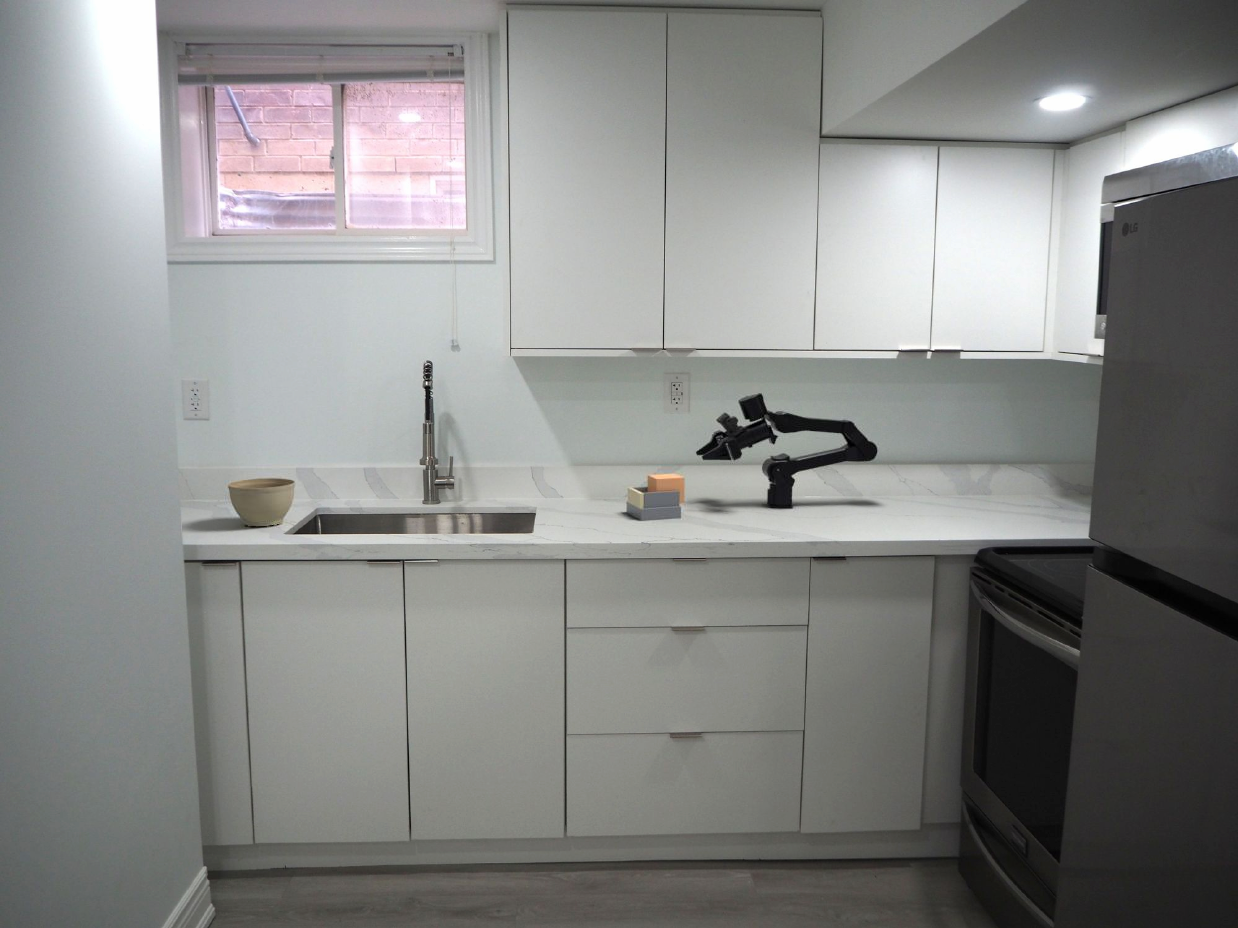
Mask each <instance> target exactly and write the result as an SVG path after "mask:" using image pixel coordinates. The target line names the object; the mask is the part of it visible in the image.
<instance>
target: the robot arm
mask: <svg viewBox="0 0 1238 928" xmlns="http://www.w3.org/2000/svg"><path fill="white" fill-rule="evenodd" d="M737 402H738V404H739V407H740V410H741V413H742V415H743V418H744V420H745V421H747V420H748V421H749V422H750V423H749V424H747V425H745V426H743V425H738V422H739V419H738V418H737V416H735V415H732V416H731V415H730V414H728V413H727V412H723V413H722V414H720V415H719V416H718V417H717V419H715V421H716V422H717V423H718V424H720V425H721V426H722V427H723V428H724V431H722V430H720V429H719V430H717V431H713V433H712V435H711V439H710V441H708V442H707V443H706V444H704V445H703V446H702V447H700V448H698V450H696V451H695V454H696V456H701V459H702V460H703V461H732V460H733V461H736V460H739V459H741V457H742V455H743V452H742V450H745V449H747V448H748V449H751V448H753V446H754V445H756V444H760V443H762V442H764V441H767V440H768V441H769V443H770V444H772V445H775V444H776V442H777V439H778V437H779V436H778V435H777V434H775V433H774V431H776V432H779V433H780V434H781V433H782V434H792V433H793V434H794V433H800V432H806V431H807V432H817V433H829V434H841V435H842V437H843V439H844V440H845V442H846V443H845V444H844V445H842V446H840V447H837V448H833V449H827V450H823V451H819V452H814V453H809V454H805V455H801V456H796V457H790V455H789V454H786V453H785V452H783V453H779V454H777V455H770V456H769V457H770V458H766V459H764V461H763V463H762V465H761V471H762V474H763V475H764V476H765V477H766V478H767V479H768V482H769V487H768V488H767V490H766V491H767V492H766V494H767V495H766V503H767V505H768V507H769V508H776V509H777V508H780V509H781V508H782V509H783V508H785V509H787V508H788V509H793V507H794V506H793V487H794V486H795V482H796V479H795V478H794V477H793V476H794V475H796V474H797V473H799V472H800V473H801V472H803V471H808V470H813V469H817V468H822V467H826V466H832V465H835V464H839V463H840V464H841V463H844V462H850V463H851V462H852V463H853V462H854V463H855V462H857V463H860V462H861V463H864V462H871V461H873V460H875V459H876V457H877V456H878V446H877V445H876V443H874V442H873V441H871V440H868V438H867V437H866V436H865V434H863V432H861V431H860V429H858V427H857V426H856V425H855V423H854V422H853V421H851V420H848V419H834V418H833V419H830V418H819V417H808V416H807V417H806V416H801V415H797V414H794V413H790V412H787V411H782V410H779V411H775V412H773V411H771V410H768V408H767V407H766V404H765V400H764V395H763V394H762V393H760V392H759V393H756V394H751V395H746V396H744V397H742V398H740V399H739V400H738V401H737ZM767 421H768V422H769V423H770V424H768V423H767Z"/></svg>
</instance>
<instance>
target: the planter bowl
mask: <svg viewBox="0 0 1238 928" xmlns="http://www.w3.org/2000/svg"><path fill="white" fill-rule="evenodd" d="M295 486H296V481H295V480H293V479H289V478H282V477H281V478H280V477H278V478H277V477H275V478H274V477H264V478H263V477H262V478H260V477H259V478H258V477H257V478H250V479H249V478H248V479H247V478H246V479H242V480H235V481H231V482H229V483H228V484H227V488H228V491H229V492H228V493H229V498H230V501H231V504H232V507H233V508H234V511H235V512H236V514H237V515H238V517H239V518H240V519H241V520H242V524H243V525H244V526H245V525H248V526H247V527H250V526H267V525H274V526H278V525H277V524H279V525H281V524H283V522H284V518H285V517H286V516H287V514H288V512H289V511H290V509H291V507H292V504H293V501H294V497H295ZM267 527H268V526H267Z"/></svg>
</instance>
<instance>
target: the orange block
mask: <svg viewBox="0 0 1238 928" xmlns="http://www.w3.org/2000/svg"><path fill="white" fill-rule="evenodd" d="M685 479H686V478H685V477H684V476H682V475H679V474H677V473H664V474H647V487H648V492H665V491H680V503H679V505H680V504H685V486H686V485H685Z"/></svg>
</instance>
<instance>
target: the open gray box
mask: <svg viewBox="0 0 1238 928" xmlns="http://www.w3.org/2000/svg"><path fill="white" fill-rule="evenodd" d="M679 503H680V491H665V492H648V486H637V487H635V486H634V487H627V501H626V513H627V514H628V515H631V516H632V517H634V518H637V519H638V520H640V521H642V522H643V521H654V520H655V521H656V520H668V519H669V520H670V519H681V518H682V506H681V505H680V504H681V503H680V504H679Z"/></svg>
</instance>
